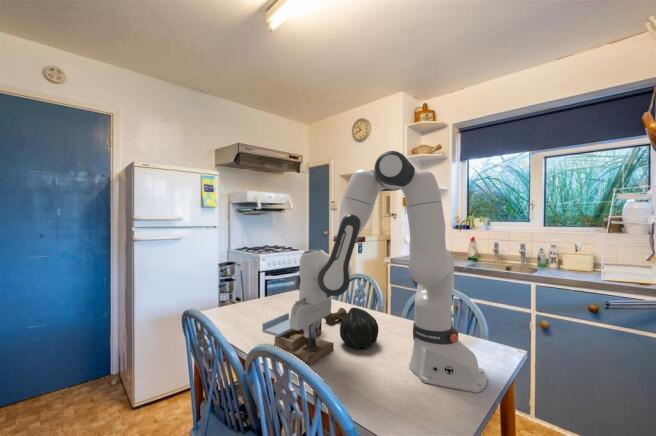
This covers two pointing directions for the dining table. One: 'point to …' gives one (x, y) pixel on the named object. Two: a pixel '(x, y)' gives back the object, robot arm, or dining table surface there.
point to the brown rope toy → (335, 316)
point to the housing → (303, 346)
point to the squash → (358, 329)
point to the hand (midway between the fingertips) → (311, 334)
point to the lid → (278, 326)
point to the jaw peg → (312, 336)
